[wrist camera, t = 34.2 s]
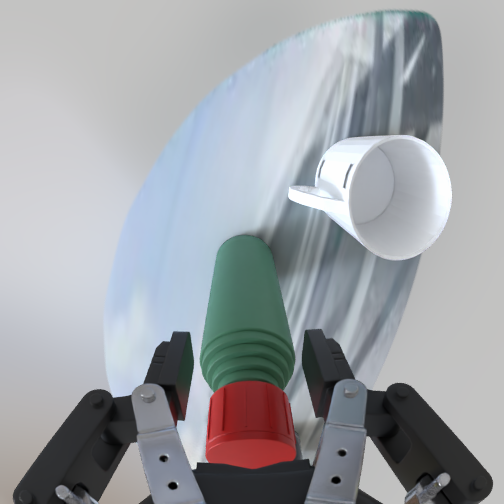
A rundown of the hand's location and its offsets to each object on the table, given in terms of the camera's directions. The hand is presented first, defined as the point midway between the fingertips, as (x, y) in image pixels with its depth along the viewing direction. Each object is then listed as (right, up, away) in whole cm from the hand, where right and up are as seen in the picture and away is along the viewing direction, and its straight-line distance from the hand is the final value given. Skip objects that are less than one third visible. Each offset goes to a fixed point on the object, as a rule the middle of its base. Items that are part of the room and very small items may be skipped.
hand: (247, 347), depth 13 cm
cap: (0, -3, 0) cm, 3 cm away
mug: (+9, +11, +14) cm, 20 cm away
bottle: (-1, +4, +16) cm, 16 cm away
